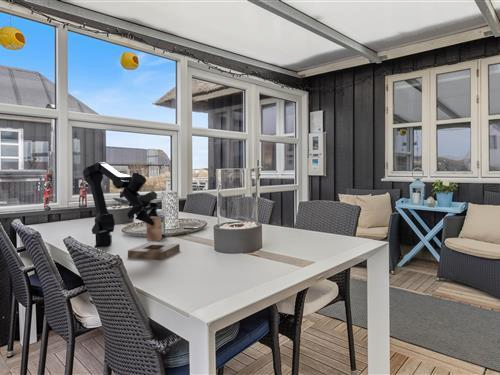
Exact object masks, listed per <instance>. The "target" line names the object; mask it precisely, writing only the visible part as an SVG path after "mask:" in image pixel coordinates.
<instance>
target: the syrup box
mask: <svg viewBox="0 0 500 375" xmlns="http://www.w3.org/2000/svg"><path fill="white" fill-rule="evenodd" d="M157 214H158V216H160V217H161V228H162V233H165V234H166V222H165V216H166V215H165V209H161V208H160V209H159V208H158V209H157Z"/></svg>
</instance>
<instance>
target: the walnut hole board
mask: <svg viewBox="0 0 500 375" xmlns="http://www.w3.org/2000/svg"><path fill="white" fill-rule="evenodd" d="M180 250H181V248H180V243H171V242H169V243H168V242H158V241H148V242H145V243H143V244H140V245H138V246H135V247H133V248H130V249H128V250H127V258H133V259H134V258H135V259H142V260H143V259H144V260H157V261H158V260H159V261H162V260H163V259H164V260H165V259H166V258H168V257H170V256H171V255H174V254H176V253H177V252H179V251H180Z"/></svg>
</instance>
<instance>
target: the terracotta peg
mask: <svg viewBox="0 0 500 375" xmlns="http://www.w3.org/2000/svg"><path fill="white" fill-rule="evenodd" d="M150 218H151V219H152V221H153V222H154V225H150V224H148V223H146V241H148V242H158V241H159V240H162V238H163V236H162V228H161V217H160V216H151V217H150Z"/></svg>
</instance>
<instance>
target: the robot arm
mask: <svg viewBox="0 0 500 375" xmlns="http://www.w3.org/2000/svg"><path fill="white" fill-rule="evenodd" d="M82 176H83V178H84V181H85V182H86V183H87V184H88V185H89V186H90V189H91V194H92V198H93V202H94V203H93V204H94V207H95V212H96V215H95V218H94V225H93V226H92V228H91V233H92V235H95V245H94V247H95V248H97V247H110V245H111V246H112V244H113V237H112V234H111V233H113V232H114V231H115V225H116V224H115V223H116V222H115V221H116V220H115V218H114V214H113V213H111V212H109V211H108V207H107V203H106V198H105V195H104V190H103V187H102V182H103V179H104V176H105V177H107V178H108V179H109V180H110V181H112V185H113V187H114V188H115V189H117V190H121V189H123V190H122V191H120V192H119V198H120V199H122V198H124V199H125V200H126V201H127V202H128V206H129V207H130V209H129V210H128V212H127V213H126V217H127V218H128V219H129V220H133V219H135V220H138V221H141V222H144V223H148V224H150V225H154V222H153V221H152V219H151V218H150V217H151V216H158V214H157V209H159V208H160V207H161V205H162V204H161V203H160V202H159V201H154V200H157V199H158V198H157V197H158V194H157V192H156V191H154V190H151V191H150V192H147V193H146V194H140V193H139V192H140V191H141V190H142V188H143V187H144V185H145V184H146V182H147V178H146V177H145V176H143V175H142V174H140V173H139V172H137V171H136V172H133V174H132V175H131V176H130V175H128V174H125V173H120V172H119V171H117V170H116V169H115V168H113V167H112V166H111V165H110V164H108V162H106V161H102V162H101V161H100V162H99V161H98V162H95V163H94V164H92V165H89V166H87V167H85V168H84V169H83V171H82ZM135 216H136V217H135Z"/></svg>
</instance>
